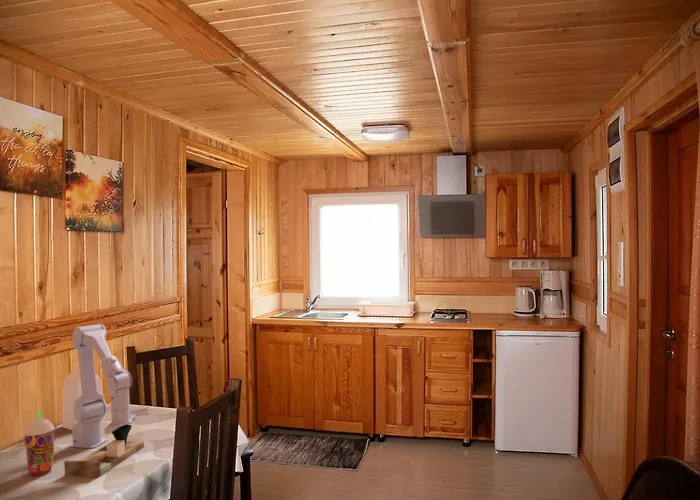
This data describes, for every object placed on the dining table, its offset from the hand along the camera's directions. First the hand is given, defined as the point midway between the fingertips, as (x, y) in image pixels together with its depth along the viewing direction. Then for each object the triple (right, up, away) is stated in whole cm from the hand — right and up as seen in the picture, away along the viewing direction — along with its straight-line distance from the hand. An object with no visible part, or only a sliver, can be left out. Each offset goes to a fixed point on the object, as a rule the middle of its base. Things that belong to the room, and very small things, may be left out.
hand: (121, 447), depth 175 cm
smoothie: (-21, -4, -11) cm, 24 cm away
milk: (-31, -4, +35) cm, 47 cm away
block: (0, -1, -3) cm, 3 cm away
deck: (-3, -3, -3) cm, 5 cm away
